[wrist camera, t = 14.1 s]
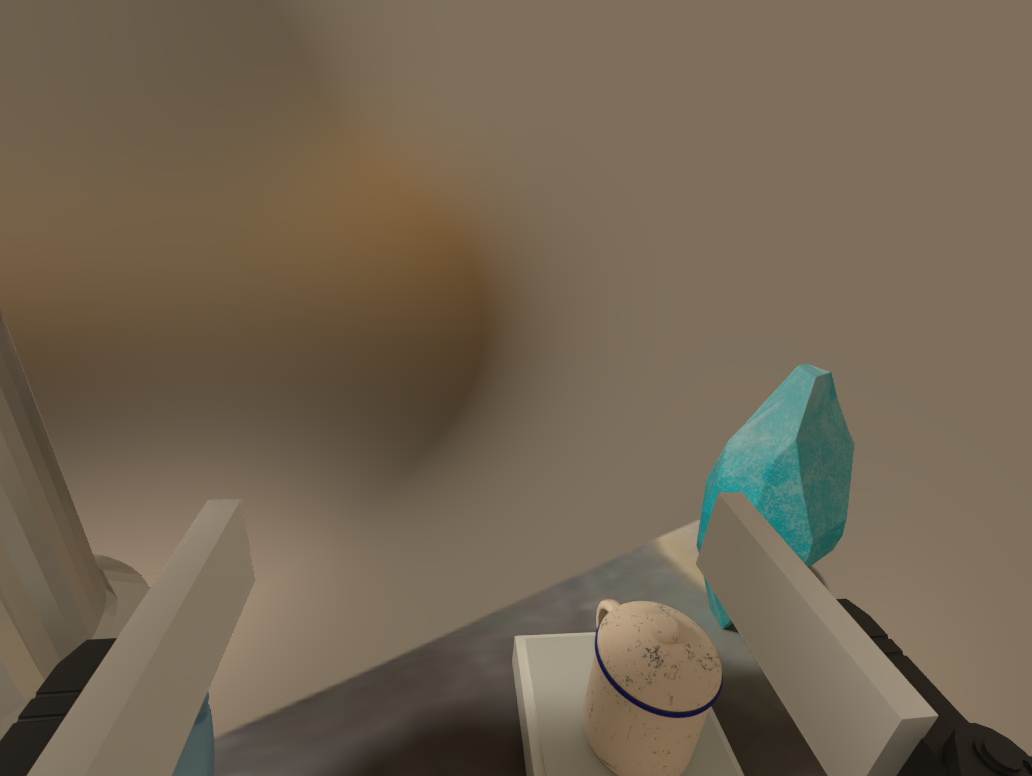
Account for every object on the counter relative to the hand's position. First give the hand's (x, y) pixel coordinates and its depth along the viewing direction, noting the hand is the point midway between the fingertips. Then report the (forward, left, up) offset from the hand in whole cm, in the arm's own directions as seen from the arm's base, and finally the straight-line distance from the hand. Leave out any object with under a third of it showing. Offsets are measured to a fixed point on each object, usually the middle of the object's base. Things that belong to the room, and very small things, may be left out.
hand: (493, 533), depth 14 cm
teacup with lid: (+14, +14, -31) cm, 37 cm away
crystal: (+31, +26, -35) cm, 54 cm away
